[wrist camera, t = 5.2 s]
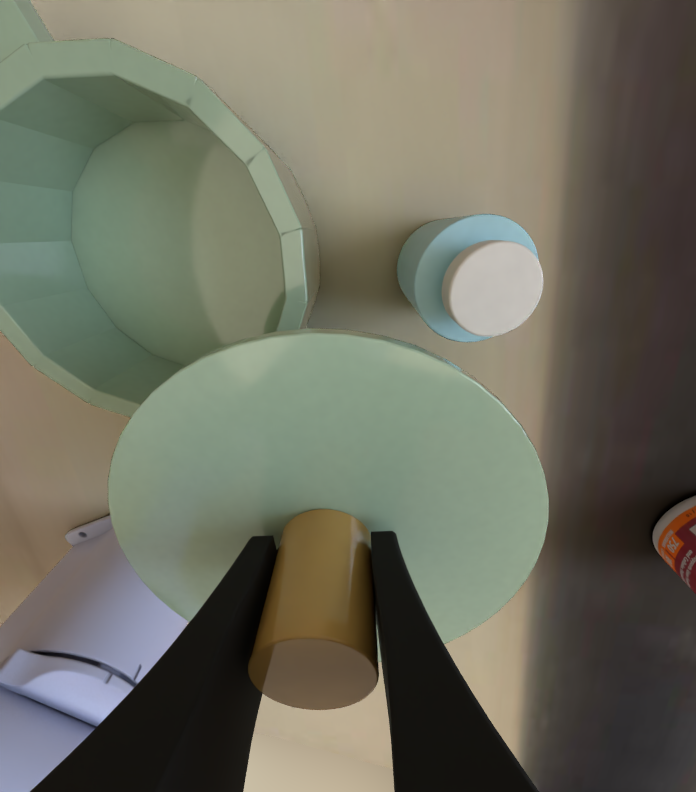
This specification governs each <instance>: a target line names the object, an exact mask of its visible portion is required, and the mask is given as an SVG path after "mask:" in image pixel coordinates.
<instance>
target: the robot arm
mask: <svg viewBox="0 0 696 792" xmlns="http://www.w3.org/2000/svg"><path fill="white" fill-rule="evenodd" d="M65 539H66V540H67V541H68V542H69V543H70V544H71V545H72V546H73V547H72V548H71V549H70V550H69V551H68V552H67V554H66V555H65V556H64V557H63V558H62V559H61V560H60V561H59V562H58V563H57V565H56V566H55V567H54V568H53V569H52V570H51V571H50V572H49V573H48V574H47V576H46V577H45V578H44V579H43V580H42V581H41V582H40V583H39V584H38V586H37V587H36V588H35V589H34V590H33V591H32V592H31V593H30V594H29V595H28V597H27V598H26V599H25V600H24V601H23V602H22V603H21V604H20V605H19V606H18V608H17V609H16V610H15V611H14V612H13V613H12V614H11V615H10V616H9V618H8V619H7V620H6V621H5V622H4V623H3V624H2V625H1V627H0V792H243V789H244V783H245V777H246V771H247V765H248V759H249V753H250V747H251V741H252V737H253V732H254V727H255V722H256V718H257V714H258V710H259V705H260V701H261V697H262V693H261V692H260V691H259V690H258V689H257V688H256V687H255V686H254V685H253V683H252V682H251V680H250V678H249V674H248V662H249V658H250V654H251V650H252V646H253V642H254V638H255V634H256V630H257V626H258V623H259V619H260V615H261V611H262V607H263V603H264V599H265V595H266V591H267V587H268V583H269V579H270V575H271V571H272V568H273V564H274V560H275V556H276V552H277V549H276V545H275V541H274V537H273V535H272V536H252V537H251V538H250V539H249V541H248V542H247V544H246V545H245V547H244V548H243V550H242V551H241V553H240V554H239V556H238V557H237V558H236V560H235V561H234V563H233V564H232V566H231V567H230V569H229V570H228V571H227V573H226V574H225V576H224V577H223V578H222V580H221V581H220V583H219V584H218V585H217V587H216V588H215V589H214V591H213V592H212V594H211V595H210V596H209V598H208V599H207V600H206V602H205V603H204V604H203V606H202V607H201V608H200V610H199V611H198V612H197V614H196V615H195V616H194V617H193V619H192V620H191V621H190V622H189V624H188V625H187V623H188V621H187V620H185V619H184V618H183V617H181V616H180V615H178V614H177V613H175V612H174V611H173V610H171V609H170V608H169V607H168V606H167V605H166V604H165V603H163V602H162V601H161V600H160V599H159V598H158V597H156V595H155V594H154V593H153V592H152V591H151V590H150V589H149V588H148V587H147V586H146V585H145V584H144V582H143V581H142V580H141V579H140V577H139V576H138V575H137V573H136V572H135V571H134V569H133V568H132V566H131V565H130V564H129V562H128V560H127V558H126V556H125V554H124V553H123V551H122V549H121V547H120V545H119V543H118V540H117V537H116V534H115V531H114V529H113V526H112V522H111V517H110V515H109V516H106V517H104V518H101V519H98V520H96V521H93V522H90V523H88V524H85V525H82V526H80V527H77V528H74V529H72V530H70V531H68V533H67V534H66V535H65ZM371 557H372V570H373V583H374V592H375V604H376V622H377V630H378V638H379V646H380V653H381V661H382V669H383V676H384V684H385V692H386V700H387V707H388V715H389V724H390V734H391V744H392V760H393V775H394V790H395V792H539V791H538V790H537V788H536V787H535V785H534V784H533V783H532V781H531V780H530V778H529V777H528V775H527V774H526V772H525V771H524V769H523V768H522V767H521V765H520V764H519V762H518V761H517V759H516V758H515V756H514V755H513V753H512V752H511V751H510V749H509V748H508V746H507V745H506V743H505V742H504V740H503V739H502V737H501V736H500V735H499V733H498V732H497V730H496V729H495V727H494V726H493V724H492V723H491V721H490V720H489V718H488V716H487V715H486V713H485V712H484V710H483V709H482V707H481V705H480V704H479V702H478V701H477V699H476V698H475V696H474V694H473V693H472V691H471V690H470V688H469V686H468V685H467V683H466V681H465V680H464V678H463V676H462V675H461V673H460V671H459V670H458V668H457V666H456V665H455V663H454V661H453V659H452V658H451V656H450V654H449V652H448V651H447V649H446V647H445V645H444V643H443V642H442V640H441V638H440V636H439V634H438V632H437V630H436V629H435V627H434V625H433V623H432V621H431V619H430V617H429V615H428V613H427V611H426V609H425V607H424V605H423V603H422V600H421V598H420V596H419V594H418V592H417V590H416V588H415V586H414V583H413V581H412V579H411V576H410V574H409V571H408V569H407V566H406V564H405V561H404V558H403V556H402V553H401V550H400V547H399V543H398V539H397V535H396V533H395V532H393V531H373V532H371Z"/></svg>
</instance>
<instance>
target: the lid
mask: <svg viewBox="0 0 696 792" xmlns="http://www.w3.org/2000/svg"><path fill="white" fill-rule="evenodd" d="M108 506H109V511H110V517H111V522H112V526H113V529H114V531H115V534H116V537H117V540H118V543H119V545H120V547H121V549H122V551H123V553H124V554H125V556H126V558H127V560H128V562H129V564H130V565H131V566H132V568H133V569H134V571H135V572H136V573H137V575H138V576H139V577H140V579H141V580H142V581H143V582H144V584H145V585H146V586H147V587H148V588H149V589H150V590H151V591H152V592H153V593H154V594H155V595H156V597H158V598H159V599H160V600H161V601H162V602H163V603H165V604H166V605H167V606H168V607H169V608H170V609H171V610H173V611H174V612H175V613H177V614H178V615H180V616H181V617H183V618H184V619H185V620H187V621H188V622H190V621H191V620H192V619H193V617H194V616H195V615H196V614H197V612H198V611H199V610H200V608H201V607H202V606H203V604H204V603H205V602H206V600H207V599H208V598H209V596H210V595H211V594H212V592H213V591H214V589H215V588H216V587H217V585H218V584H219V583H220V581H221V580H222V578H223V577H224V576H225V574H226V573H227V571H228V570H229V569H230V567H231V566H232V564H233V563H234V561H235V560H236V558H237V557H238V556H239V554H240V553H241V551H242V550H243V548H244V547H245V545H246V544H247V542H248V541H249V539H250V538H251V537H252V536H272V535H273V537H274V541H275V545H276V549H277V552H276V556H275V560H274V564H273V568H272V571H271V575H270V579H269V583H268V587H267V591H266V595H265V599H264V603H263V607H262V611H261V615H260V619H259V623H258V626H257V630H256V634H255V638H254V642H253V646H252V650H251V654H250V658H249V662H248V674H249V678H250V680H251V682H252V683H253V685H254V686H255V687H256V688H257V689H258V690H259V691H260V692H261V693H263V694H264V695H265V696H267V697H269V698H271V699H272V700H274V701H277V702H279V703H282V704H285V705H288V706H292V707H296V708H302V709H310V710H328V709H336V708H342V707H346V706H349V705H352V704H355V703H357V702H359V701H361V700H363V699H364V698H366V697H367V696H368V695H369V694H370V693H371V692H372V691H373V690H374V688H375V687H376V685H377V682H378V677H379V667H378V662H382V661H381V653H380V646H379V638H378V630H377V622H376V604H375V592H374V583H373V570H372V557H371V532H373V531H393V532H395V533H396V535H397V539H398V543H399V547H400V550H401V553H402V556H403V558H404V561H405V564H406V566H407V569H408V571H409V574H410V576H411V579H412V581H413V583H414V586H415V588H416V590H417V592H418V594H419V596H420V598H421V600H422V603H423V605H424V607H425V609H426V611H427V613H428V615H429V617H430V619H431V621H432V623H433V625H434V627H435V629H436V630H437V632H438V634H439V636H440V638H441V640H442V642H443V643H444V644H446V643H448V642H450V641H452V640H454V639H456V638H459V637H461V636H463V635H465V634H466V633H468V632H469V631H471V630H473V629H474V628H476V627H478V626H479V625H481V624H482V623H484V622H485V621H486V620H488V619H489V618H490V617H491V616H493V615H494V614H495V613H497V612H498V611H499V610H500V609H501V608H502V607H503V606H504V605H505V604H506V603H507V602H508V601H509V600H510V599H511V598H512V597H513V596H514V595H515V594H516V593H517V591H518V590H519V589H520V587H521V586H522V585H523V584H524V582H525V581H526V580H527V578H528V576H529V574H530V573H531V571H532V569H533V567H534V566H535V564H536V562H537V560H538V557H539V554H540V552H541V549H542V546H543V544H544V541H545V535H546V530H547V525H548V510H549V496H548V491H547V485H546V479H545V474H544V471H543V468H542V465H541V463H540V460H539V457H538V455H537V452H536V449H535V448H534V446H533V444H532V442H531V441H530V439H529V437H528V436H527V434H526V432H525V431H524V429H523V427H522V426H521V424H520V423H519V422H518V421H517V420H516V419H515V417H514V416H513V415H512V414H511V413H510V411H509V410H508V409H507V408H506V407H505V406H504V404H503V403H502V402H501V401H500V400H499V398H498V397H497V396H496V395H494V394H493V393H492V392H491V391H490V390H489V389H487V388H486V387H485V386H484V385H483V384H482V383H481V382H479V381H478V380H477V379H476V378H475V377H473V376H472V375H470V374H469V373H467V372H466V371H464V370H462V369H461V368H459V367H458V366H456V365H454V364H453V363H451V362H450V361H448V360H447V359H444V358H442V357H440V356H438V355H436V354H433V353H431V352H429V351H427V350H425V349H422V348H420V347H418V346H416V345H412V344H409V343H406V342H402V341H399V340H396V339H392V338H389V337H386V336H382V335H377V334H371V333H365V332H359V331H352V330H346V329H317V328H308V329H297V330H287V331H277V332H271V333H267V334H263V335H258V336H254V337H250V338H246V339H241V340H239V341H236V342H233V343H231V344H228V345H226V346H223V347H220V348H218V349H215V350H213V351H210V352H208V353H207V354H205V355H203V356H201V357H200V358H198V359H196V360H194V361H193V362H191V363H189V364H187V365H186V366H184V367H182V368H181V369H180V370H178V371H177V372H176V373H175V374H173V375H172V376H171V377H170V378H168V379H167V380H166V381H165V382H163V383H162V384H161V385H160V386H158V387H157V388H156V389H155V390H153V391H152V392H151V394H150V395H149V396H148V397H147V398H146V399H145V400H144V401H143V403H142V404H141V405H140V406H139V407H138V408H137V409H136V410H135V412H134V413H133V415H132V416H131V418H130V420H129V421H128V423H127V424H126V426H125V428H124V429H123V431H122V433H121V435H120V437H119V440H118V442H117V445H116V448H115V450H114V453H113V456H112V459H111V465H110V471H109V476H108Z"/></svg>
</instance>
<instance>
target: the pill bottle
mask: <svg viewBox="0 0 696 792" xmlns="http://www.w3.org/2000/svg"><path fill="white" fill-rule="evenodd" d="M652 538H653V544H654V546H655V549H656V550H657V552H658V553H659V554H660V556H661V557H662V558H663V559H664V560H665V561H666V562H667V564H668V565H669V566H670V567H671V568H672V569H673V570H674V571H675V572H676V573H677V574H678V575H679V576H680V577H681V579H682V580H683V581H684V582H685V583H686V584H687V585H688V586H689V587H690V588H691V589H692V590H693V591H694V593H695V594H696V496H693V497H691V498H688V499H686V500H684V501H682V502H680V503H678V504H677V505H675V506H674V507H672V508H671V509H670V510H668V511H667V512H666V513H665V514H664V515H663V516H662V517H661V518H660V519H659V521H658V522H657V524H656V526H655V528H654V530H653V535H652Z"/></svg>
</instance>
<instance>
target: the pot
mask: <svg viewBox="0 0 696 792" xmlns="http://www.w3.org/2000/svg"><path fill="white" fill-rule="evenodd" d="M319 288H320V255H319V247H318V239H317V230H316V226H315V223H314V221H313V219H312V216H311V214H310V211H309V208H308V205H307V203H306V200H305V198H304V196H303V195H302V193H301V191H300V189H299V187H298V185H297V182H296V180H295V178H294V176H293V173H292V171H290V169H289V168H288V166H287V165H286V164H285V163H284V162H283V161H282V160H281V159H280V158H279V157H278V156H277V155H276V154H275V153H274V152H273V151H272V150H271V148H269V147H268V146H267V145H266V143H265V142H264V141H263V140H262V139H261V138H260V137H259V136H258V135H257V134H256V133H255V132H254V131H253V130H252V129H251V128H250V127H249V126H248V125H247V124H246V123H245V122H244V121H243V120H242V119H241V118H240V117H239V116H238V115H237V114H236V113H235V112H234V111H233V110H232V109H231V108H230V107H229V106H228V105H227V104H226V103H225V102H224V101H223V100H222V99H221V98H220V97H218V96H217V95H216V94H215V93H214V92H213V91H212V90H211V89H210V88H209V87H208V86H207V85H206V84H205V83H204V82H203V81H202V80H201V79H199V78H198V77H197V76H195V75H193V74H191V73H189V72H187V71H184V70H182V69H180V68H178V67H176V66H173V65H171V64H169V63H167V62H165V61H162V60H160V59H158V58H156V57H154V56H151V55H149V54H147V53H145V52H143V51H140V50H138V49H136V48H134V47H132V46H129V45H127V44H125V43H123V42H121V41H118V40H116V39H114V38H111V39H110V38H99V39H80V40H62V41H54V39H53V38H52V36H51V34H50V33H49V31H48V29H47V28H46V26H45V24H44V23H43V21H42V19H41V18H40V16H39V14H38V13H37V11H36V9H35V8H34V6H33V4H32V3H31V1H30V0H0V331H1V332H2V333H3V334H4V335H5V337H6V338H7V339H8V340H9V341H10V342H11V343H12V345H13V346H14V347H15V348H16V349H17V350H18V351H19V352H20V354H21V355H22V356H23V357H24V358H25V359H26V360H27V362H28V363H29V364H30V365H31V366H34V368H35V369H37V370H38V371H40V372H41V373H43V374H44V375H46V376H47V377H49V378H50V379H52V380H53V381H55V382H56V383H58V384H59V385H61V386H62V387H64V388H65V389H67V390H68V391H70V392H71V393H73V394H74V395H76V396H78V397H79V398H81V399H82V400H84V401H85V402H87V403H90V404H91V405H93V406H96V407H100V408H103V409H106V410H109V411H112V412H115V413H118V414H122V415H125V416H128V417H131V416H132V415H133V413H134V412H135V410H136V409H137V408H138V407H139V406H140V405H141V404H142V403H143V401H144V400H145V399H146V398H147V397H148V396H149V395H150V394H151V392H152V391H153V390H155V389H156V388H157V387H158V386H160V385H161V384H162V383H163V382H165V381H166V380H167V379H168V378H170V377H171V376H172V375H173V374H175V373H176V372H177V371H178V370H180V369H181V368H182V367H184V366H186V365H187V364H189V363H191V362H193V361H194V360H196V359H198V358H200V357H201V356H203V355H205V354H207V353H208V352H210V351H213V350H215V349H218V348H220V347H223V346H226V345H228V344H231V343H233V342H236V341H239V340H241V339H246V338H250V337H254V336H258V335H263V334H267V333H271V332H277V331H287V330H297V329H306V327H307V324H308V321H309V318H310V315H311V312H312V310H313V307H314V303H315V300H316V297H317V294H318V291H319Z"/></svg>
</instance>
